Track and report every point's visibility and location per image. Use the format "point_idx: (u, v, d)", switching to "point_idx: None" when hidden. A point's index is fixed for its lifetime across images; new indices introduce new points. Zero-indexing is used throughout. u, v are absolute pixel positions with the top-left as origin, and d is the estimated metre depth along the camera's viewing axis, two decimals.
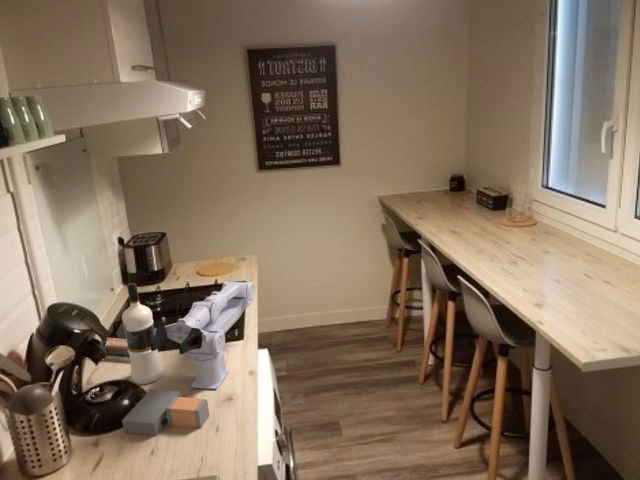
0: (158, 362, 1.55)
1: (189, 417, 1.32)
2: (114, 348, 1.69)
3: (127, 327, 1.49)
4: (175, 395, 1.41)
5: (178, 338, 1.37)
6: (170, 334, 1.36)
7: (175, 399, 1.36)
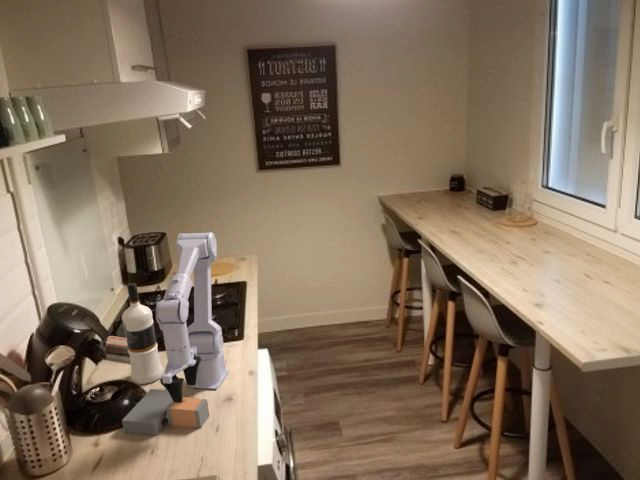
0: (158, 362, 1.55)
1: (189, 417, 1.32)
2: (115, 347, 1.70)
3: (127, 327, 1.49)
4: None
5: None
6: None
7: None
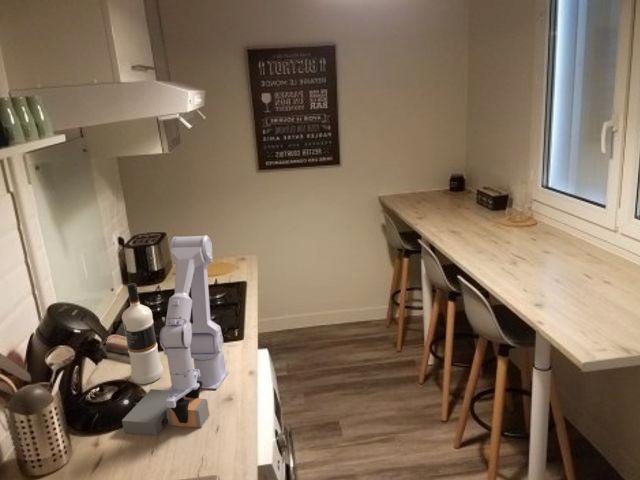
0: (158, 362, 1.55)
1: (189, 417, 1.32)
2: (116, 346, 1.70)
3: (127, 327, 1.49)
4: None
5: None
6: None
7: None
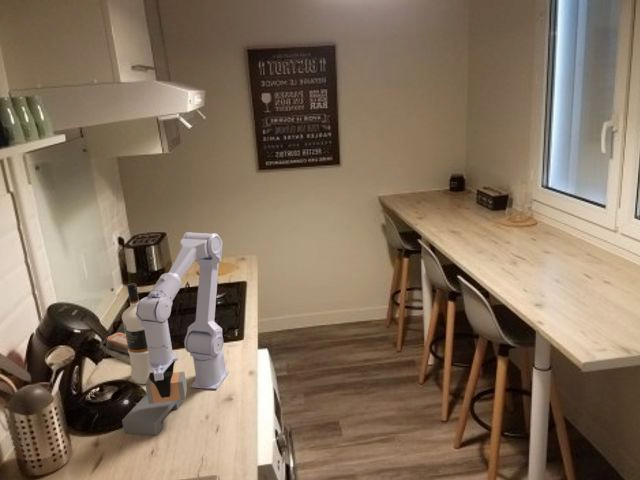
0: None
1: (172, 391, 1.32)
2: (117, 345, 1.71)
3: (127, 327, 1.49)
4: None
5: None
6: None
7: None
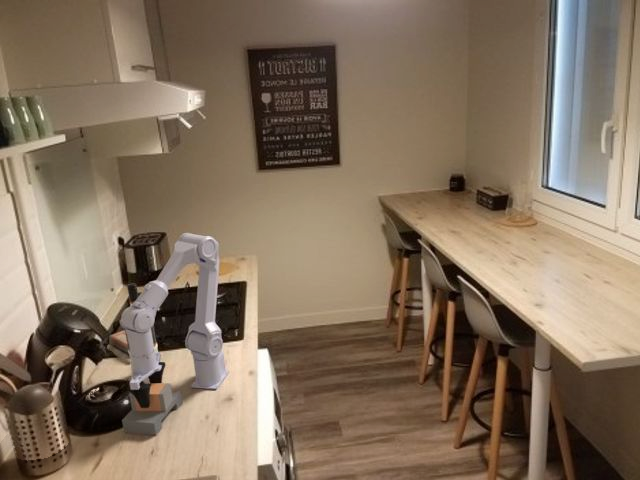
0: None
1: (154, 402, 1.33)
2: (119, 343, 1.72)
3: None
4: (175, 395, 1.41)
5: None
6: None
7: None
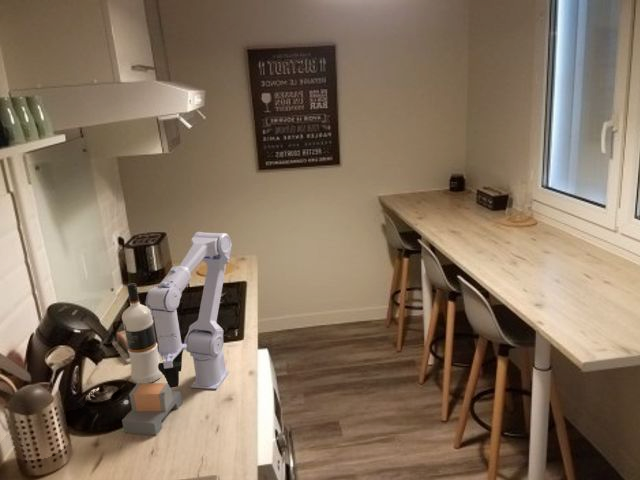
0: (158, 362, 1.55)
1: (154, 402, 1.33)
2: (122, 342, 1.73)
3: (127, 327, 1.49)
4: (175, 395, 1.41)
5: None
6: None
7: (137, 385, 1.37)
